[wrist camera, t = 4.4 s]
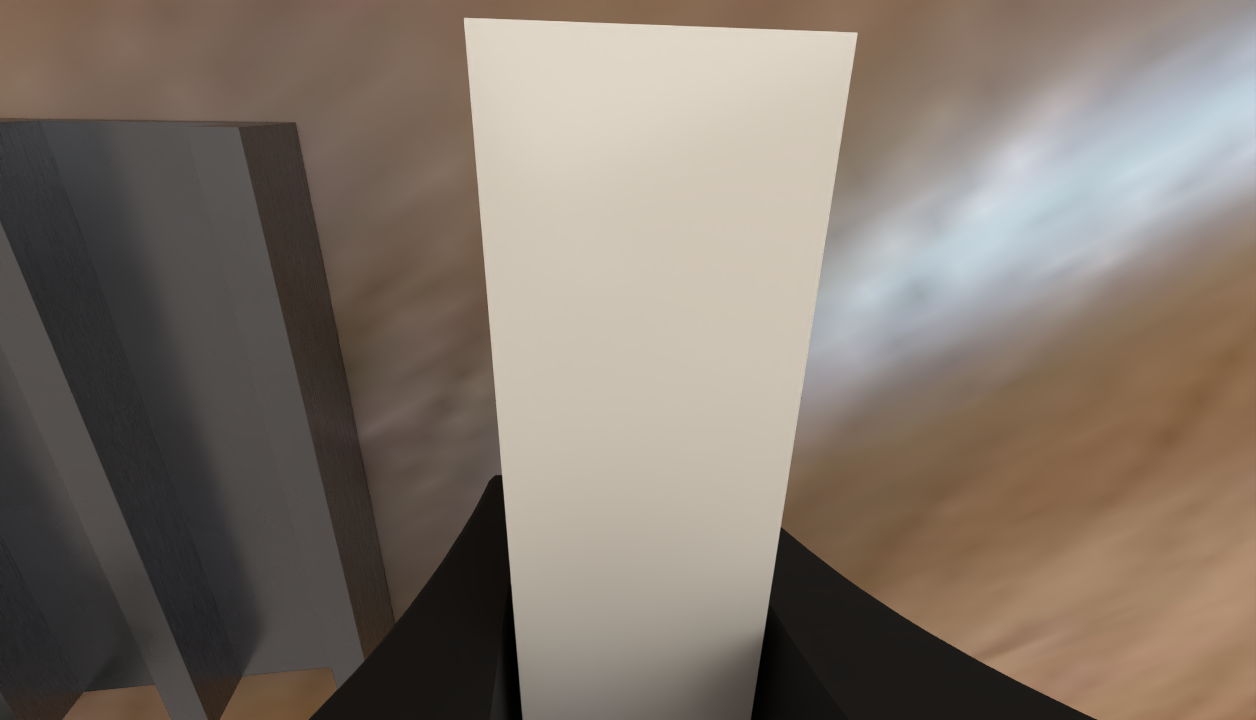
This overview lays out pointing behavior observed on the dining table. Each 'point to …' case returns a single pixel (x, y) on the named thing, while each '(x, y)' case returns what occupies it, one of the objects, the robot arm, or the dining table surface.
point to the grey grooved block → (172, 420)
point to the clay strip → (649, 341)
